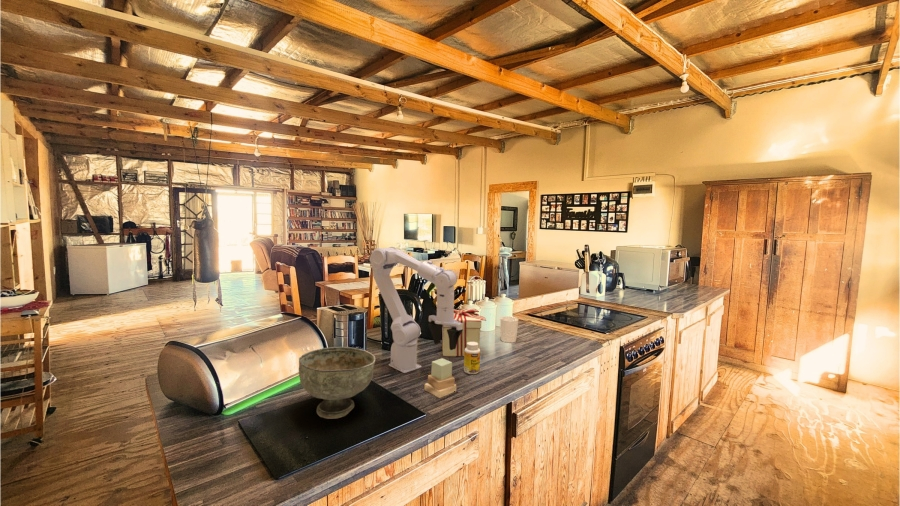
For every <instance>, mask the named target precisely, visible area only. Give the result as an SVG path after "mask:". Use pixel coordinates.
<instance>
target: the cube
mask: <svg viewBox="0 0 900 506" xmlns="http://www.w3.org/2000/svg"><path fill="white" fill-rule="evenodd" d="M452 374H453V362H452V361H449V360H447V359H445V358H443V357H442V358H439V359H436V360H433V361H431V374H430V375H431V376H433V377H435V378H437V379H439V380H444V379H446V378H449V377H451V376H452V377H453V375H452Z"/></svg>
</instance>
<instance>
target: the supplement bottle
mask: <svg viewBox="0 0 900 506" xmlns="http://www.w3.org/2000/svg"><path fill="white" fill-rule="evenodd" d="M463 359H464V360H463V371H464V373H465V374H469V375H476V374H478V373H479V372H480V365H481V349H480V347H479V348H478V343H477V342H468V343H467V347H466V348H465V351H464V358H463Z"/></svg>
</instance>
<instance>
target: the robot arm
mask: <svg viewBox="0 0 900 506" xmlns="http://www.w3.org/2000/svg"><path fill="white" fill-rule="evenodd" d="M369 262H370V265H371V266H372V267H371V269H372V276H373V279H374V281H375V284H376V286H377V288H378V291H379V292H380V296H381V297H382V299H383V302H384V304H385V307H386V308H387V310H388V313H389V315H390V317H391V319H392V323H391V326H390V330H391V332H392V340H393V342H392V344H391V347H390V363H388V366H389V367H392V368H393V369H395V370H397V371H399V372H401V373H403V374H406V373H409V372H412V371H415V370H418V369H421V368H422V365H420V364H419V363H417V353H418V352H417V349H418V346H417V344H418V338H419V337H420V336H421V330H422V329H421V327H420V325H419V324H418V323H417V322H416V321H415V319H414V318H413V316H411V315H409V314H408V312H407V311H406V308H405V306H404V304H403V302H402V300H401V298H400V296H399V293H398V291H397V288H396V286H395V285H394V282H393V280H392V278H391V272H392V271H393V268H394V267H395V266H396V264H400V265H403V266H405V267H407V268H409V269H412V270H414V271H416V272H417V275H418V276H419V277H420V278H422V279H424V280H426V281H428V282H429V283H432V284H434V286H435V288H436V315H435V314H432V315H428V322H429V323H427V327H428V328H429V331H430V332H431V336H432V340H433V343H434V345H438V344H440V343H441V341H442V339H441V338H442V331H443V325H445V326H448V327H451V329H447V333H448V336H449V347H450V350H453V349H456V345H457V341H458V339H459V336H460V334H461V333H462V331H463V323H460V322H458V321H456V320H455V319H454V309H455V285H456V284H457V282H458V277H457V274H456V273H455V272H454V271H453V270H451V269H447V270H446V269H445V267H443V266H441V267H440V266H437V265H435V264H434V262H433V261H432V260H425V261H423V262H422V261H420V260H418V259H416V258H414V257H412V255H409V254H407V253H406V252H404V251H403V250H402V249H398V248H397V247H393V246H391V247H383V248H379V247H378V248H377V247H376V248H374V249H373V250H372V251H371V254H370V256H369Z"/></svg>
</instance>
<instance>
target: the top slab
mask: <svg viewBox="0 0 900 506" xmlns="http://www.w3.org/2000/svg"><path fill="white" fill-rule="evenodd" d="M455 379H456V378H455V377H454V376H453V375H452V376H451V377H449V378H446V379H444V380H439V379H437V378H435V377H433V376H431V374H429V375H427V383H429V384H430V385H431V386H433V387H434V388H435V389H437V390H441V389H445V388H449V387H452V386H454V385H455V384H456V383H455V382H456V381H455Z"/></svg>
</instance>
